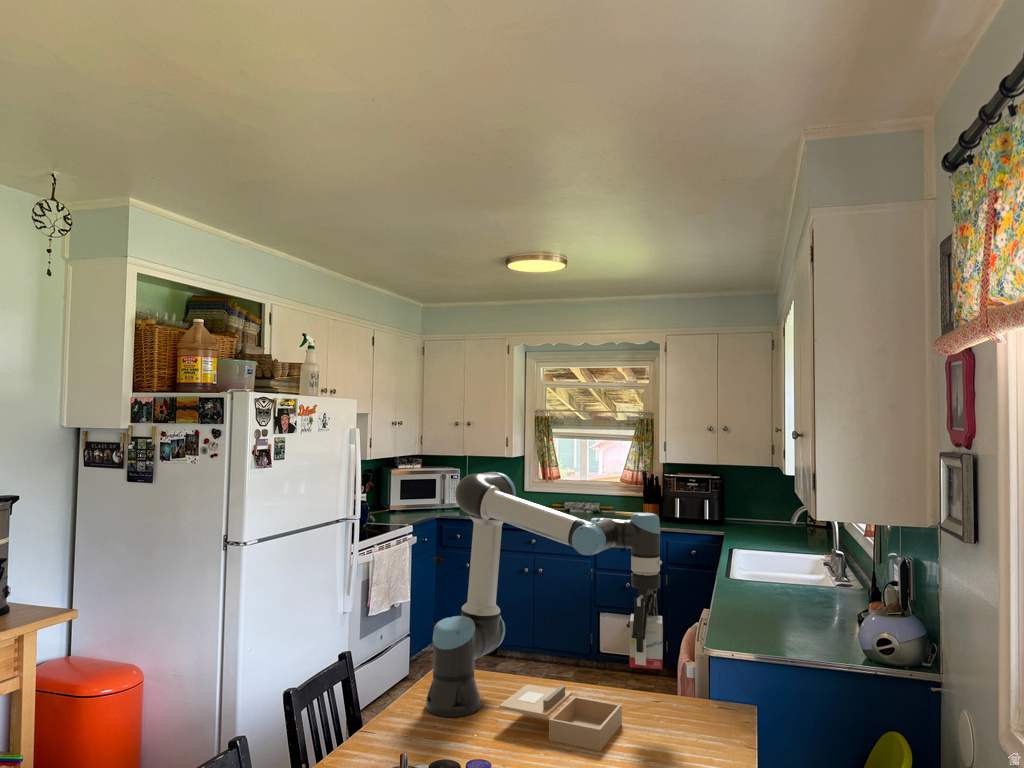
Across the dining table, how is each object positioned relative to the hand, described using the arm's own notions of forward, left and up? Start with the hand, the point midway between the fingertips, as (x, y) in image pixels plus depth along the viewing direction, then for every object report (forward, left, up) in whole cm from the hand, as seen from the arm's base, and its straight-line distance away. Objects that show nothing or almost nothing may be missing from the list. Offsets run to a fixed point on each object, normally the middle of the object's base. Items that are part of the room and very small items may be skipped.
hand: (646, 658), depth 183 cm
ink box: (0, 0, -1) cm, 1 cm away
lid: (-27, -11, -12) cm, 31 cm away
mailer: (-13, -11, -17) cm, 24 cm away
